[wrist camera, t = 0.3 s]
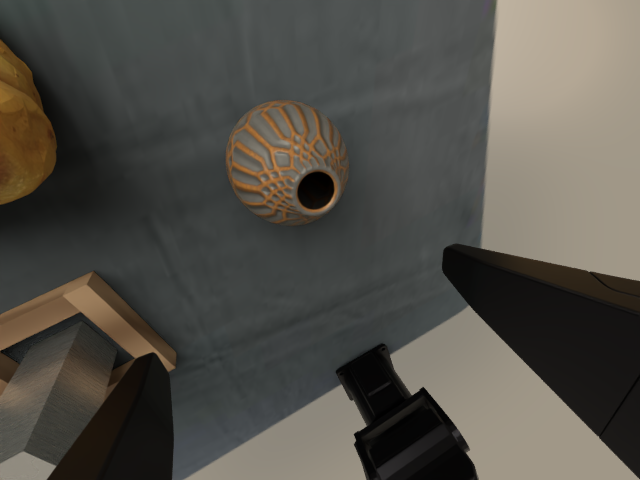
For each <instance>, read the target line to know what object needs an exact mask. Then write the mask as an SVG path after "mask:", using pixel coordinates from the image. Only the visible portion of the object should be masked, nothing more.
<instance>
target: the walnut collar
mask: <svg viewBox="0 0 640 480" xmlns="http://www.w3.org/2000/svg"><path fill="white" fill-rule="evenodd" d="M79 312H82V313H83V314H84V315H85V316H86V317H88V318H89V319H90V320H91V321H92V322H93V323H95V324H96V325H97V326H98V327H99V328H100V329H102V330H103V331H104V332H105V333H106V334H107V335H109V336H110V337H111V338H112V339H113V340H114V341H116V342H117V343H118V344H119V345H120V346H121V347H123V348H124V349H125V350H126V351H127V352H128V353H130V354H131V355H132V356H133V357H134V358H135V359H136V358H138V357H140V356H142V355H145V354H148V353H151V352H154V353H156V354H157V355H158V357H159V358H160V360H161V362H162V363H163V365H164V366H165V368H166V369H167V371H168V372H169V371H171V370H173V369H175V368H176V352H175V351H174V350H173V349H172V348H171V347H170V346H169V345H168V344H167V343H166V342H165V341H164V340H163V339H162V338H161V337H160V336H159V335H158V334H157V333H156V332H155V331H154V330H153V329H152V328H151V327H150V326H149V325H148V324H147V323H146V322H145V321H144V320H143V319H142V318H141V317H140V316H139V315H138V314H137V313H136V312H135V311H134V310H133V309H132V308H131V307H130V306H129V305H128V304H127V303H126V302H125V301H124V300H123V299H122V298H121V297H120V296H119V295H118V294H117V293H116V292H115V291H114V290H113V289H112V288H111V287H110V286H109V285H108V284H107V283H105V282H104V281H103V280H102V279H101V278H100V277H99V276H98V275H97V274H96V273H95V272H94V271H92V272H90V273H88V274H86V275H84V276H82V277H79V278H77V279H75V280H73V281H71V282H69V283H67V284H64V285H62V286H60V287H58V288H56V289H54V290H52V291H50V292H47V293H45V294H43V295H41V296H39V297H37V298H35V299H32V300H30V301H28V302H26V303H24V304H22V305H20V306H18V307H15V308H13V309H11V310H9V311H7V312H5V313H3V314H1V315H0V351H1V350H3V349H5V348H7V347H9V346H11V345H13V344H15V343H17V342H19V341H21V340H23V339H25V338H27V337H30V336H32V335H34V334H36V333H38V332H40V331H42V330H44V329H46V328H48V327H50V326H52V325H54V324H56V323H58V322H60V321H62V320H65V319H67V318H69V317H71V316H73V315H75V314H77V313H79ZM135 359H133V360H131V361H129V362H127V363H125V364H123V365H121V366H119V367H118V368H116V369H114V370H112V372H111V375H110V379H109V382H108V386H107V390H106V393H105V397H104V400H103V402H104V401H105V400H106V398H107V397H108V396H109V394H110V393H111V392H112V390H113V389H114V387H115V386H116V385H117V383H118V382H119V381H120V379H121V378H122V377H123V375H124V374H125V373H126V371H127V370H128V369H129V367H130V366H131V364H132V363H133V362H134V360H135ZM19 365H20V364H19V363H17V362H15V361H14V360H12V359H11V358H9V357H8V356H6V355H4V354H3V353H1V352H0V397H1V395H2V393H3V392H4V390H5V388H6V387H7V385H8V383H9V382H10V380H11V378H12V377H13V375H14V373H15V372H16V370H17V368H18V367H19Z"/></svg>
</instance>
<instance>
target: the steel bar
mask: <svg viewBox="0 0 640 480" xmlns="http://www.w3.org/2000/svg"><path fill="white" fill-rule="evenodd" d="M116 353H117V349H116V348H115V347H113V346H112V345H111V344H110V343H109V342H108V341H106V340H105V339H104V338H103V337H102V336H100V335H99V334H98V333H97V332H96V331H94V330H93V329H92V328H91V327H90V326H89V325H87V324H86V323H85V322H84V321H81V322H79V323H77V324H75V325H73V326H71V327H69V328H67V329H65V330H63V331H61V332H59V333H57V334H55V335H52V336H50V337H48V338H46V339H44V340H42V341H40V342H38V343H36V344H34V345H32V346H31V347H30V349H29V350H28V352H27V354H26V355H25V357H24V359H23V360H22V362H21V364H20V365H19V367H18V368H17V370H16V372H15V373H14V375H13V377H12V378H11V380H10V382H9V383H8V385H7V387H6V388H5V390H4V392H3V393H2V395H1V397H0V480H47V478H48V477H49V475H50V474H51V473H52V471H53V470H54V469H55V467H56V466H57V465H58V463H59V462H60V461H61V459H62V458H63V457H64V455H65V454H66V452H67V451H68V450H69V448H70V447H71V446H72V444H73V443H74V442H75V440H76V439H77V438H78V436H79V435H80V433H81V432H82V431H83V429H84V428H85V427H86V425H87V424H88V423H89V421H90V420H91V419H92V417H93V416H94V415H95V413H96V412H97V410H98V409H99V408H100V406H101V405H102V404H103V400H104V397H105V393H106V390H107V386H108V382H109V379H110V375H111V372H112V368H113V364H114V361H115V357H116Z"/></svg>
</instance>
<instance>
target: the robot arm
mask: <svg viewBox="0 0 640 480" xmlns="http://www.w3.org/2000/svg"><path fill="white" fill-rule="evenodd" d="M442 270H443V273H444V274H445V276H446V277H447V278H448V280H449V281H450V282H451V283H452V284H453V286H454V287H455V288H456V289H457V291H458V292H459V293H460V294H461V296H462V297H463V298H464V299H465V301H466V302H467V303H468V304H469V305H470V306H471V308H472V309H473V310H474V311H475V312H476V313H477V314H478V315H479V316H480V317H481V318H482V319H483V320H484V321H485V322H486V323H487V324H488V325H489V326H490V327H491V328H492V329H493V330H494V331H495V332H496V334H497V335H498V336H499V337H500V338H501V339H502V340H503V341H504V342H505V343H506V344H508V346H509V347H510V348H511V349H512V350H513V351H514V352H515V353H516V354H517V355H518V356H519V357H520V358H521V359H522V360H523V361H524V362H525V363H526V364H527V365H528V366H529V367H530V368H531V369H532V370H533V371H534V372H535V373H536V374H537V375H538V376H539V377H540V378H541V379H542V380H543V381H544V382H545V383H546V384H547V385H548V386H549V387H550V388H551V389H552V390H553V391H554V392H555V393H556V394H557V395H558V396H559V397H560V398H561V399H562V400H563V402H564V403H566V404H567V406H569V408H570V409H571V410H572V411H573V412H574V413H575V414H576V415H577V416H578V417H579V418H580V419H581V420H582V421H583V422H584V423H585V424H586V425H587V426H588V427H589V428H590V429H591V430H592V431H593V432H594V433H595V434H596V435H597V436H599V438H600V439H601V440H602V441H603V442H604V443H605V444H606V445H607V446H608V447H609V448H610V449H611V450H612V451H613V453H614V454H615V455H617V456H618V458H619V459H620V460H621V461H623V463H624V464H625V465H626V466H627V467H628V468H629V469H630V470H631V471H632V472H633V473H634V474H635V475H636V476H637V477H638V478H639V479H640V281H636V280H630V279H625V278H620V277H615V276H610V275H605V274H600V273H596V272H588V271H585V270H581V269H576V268H571V267H567V266H562V265H557V264H552V263H547V262H543V261H538V260H533V259H528V258H523V257H518V256H514V255H509V254H504V253H499V252H495V251H490V250H485V249H480V248H475V247H471V246H466V245H461V244H453V245H450V246H447V247H446V248H445V249H444V251H443V261H442ZM336 374H337V376H338V378H339V380H340V382H341V384H342V385H343V387H344V389H345V391H346V393H347V395H348V397H349V399H350V400H354V402H355V404H356V405H357V407H358V409H359V411H360V413H361V415H362V417H363V419H364V421H365V423H366V425H367V427H365V428H364V429H362V430H361V431H357V432H356V433H355V434H354V436H355V438H356V442H355V444H354V446H355V448H356V450H357V452H358V455H359V457H360V459H361V462H362V466H363V469H364V472H365V476H366V479H367V480H479V478H478V475H477V472H476V469H475V466H474V464H473V462H472V461H471V459H470V458H469V457H468V455H467V454H466V452H468V451H469V450H470V449H469V446H468V445H467V443H466V441H465V439H464V438H463V436H462V435H461V433H460V432H459V430H458V429H457V427H456V426H455V425H454V423H453V422H452V421H451V419H450V418H449V417H448V416H447V414H445V412H444V411H443V410H442V408H441V407H440V406H439V405H438V404H437V402H436V401H435V400H434V399H433V398H432V397H431V395H430V394H429V393H428V392H427V390H426V389H425V388H424V387H422V388H421V389H420V391H418V392H417V393H415V394H414V395H411V394H410V392H409V391H408V389H407V388H406V386H405V385H404V384H403V382H402V381H401V379H400V378H399V376H398V375H397V373H396V372H395V370H394V368H393V364H392V361H391V358H390V355H389V352H388V349H387V347H386V345H385V344H380V345H379V346H377V347H375V348H374V349H372V350H370V351H368V352H367V353H365V354H363V355H361V356H360V357H358V358H356V359H355V360H353V361H351V362H349V363H348V364H346V365H344V366H342V367H341V368H339V369H338V370H337V371H336ZM173 449H174V432H173V416H172V402H171V388H170V377H169V374H168V371H167V369H166V368H165V366H164V365H163V363H162V362H161V360H160V358H159V357H158V355H157V354H156V353H154V352H151V353H148V354H145V355H142V356H140V357H138V358H136V359H135V360H134V362H133V363H132V364H131V366H130V367H129V369H128V370H127V371H126V373H125V374H124V375H123V377H122V378H121V379H120V381H119V382H118V383H117V385H116V386H115V387H114V389H113V390H112V392H111V393H110V394H109V396H108V397H107V398H106V400H105V401H104V402H103V404H102V405H101V406H100V408H99V409H98V410H97V412H96V413H95V415H94V416H93V417H92V419H91V420H90V421H89V423H88V424H87V425H86V427H85V428H84V429H83V431H82V432H81V433H80V435H79V436H78V438H77V439H76V440H75V442H74V443H73V444H72V446H71V447H70V448H69V450H68V451H67V452H66V454H65V455H64V457H63V458H62V459H61V461H60V462H59V463H58V465H57V466H56V467H55V469H54V470H53V471H52V473H51V474H50V475H49V477H48V478H47V480H172V470H173Z"/></svg>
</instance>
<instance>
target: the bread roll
mask: <svg viewBox="0 0 640 480" xmlns="http://www.w3.org/2000/svg"><path fill="white" fill-rule="evenodd" d="M56 149H57V143H56V137H55V134H54V131H53V128H52V125H51V122H50V120H49V119H48V118H47V116H46V115H45V113H44V111H43V107H42V103H41V99H40V95H39V93H38V91H37V90H36V87H35V85H34V83H33V77H32V72H31V71H30V69H29V68H28V67H27V65H26V64H25V63H24V62H23V61H21V60H20V59H19V58H18V57H16V56H15V55H14V53H13V52H12V51H11V50H10V49H9V48H8V47H7V45H6V44H5V43H4V42H3V41H2V40H1V39H0V205H1V204H5V203H9V202H12V201H14V200H16V199H19V198H21V197H23V196H26V195H28V194H30V193H31V192H33V191H34V190H35V189H36V188H37V187H38V186H39V185H40V184H41V183H42V182H43V181H44V180H45V179H46V178H47V177H48V176H49V175H50V174H51V173H52V172H53V169H54V166H55V163H56Z"/></svg>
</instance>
